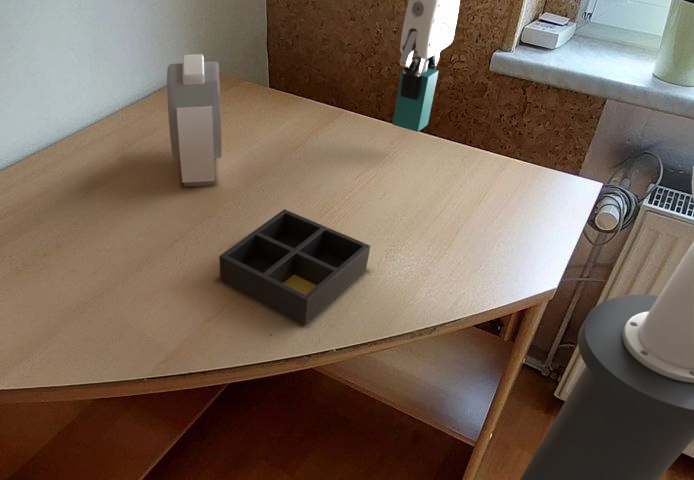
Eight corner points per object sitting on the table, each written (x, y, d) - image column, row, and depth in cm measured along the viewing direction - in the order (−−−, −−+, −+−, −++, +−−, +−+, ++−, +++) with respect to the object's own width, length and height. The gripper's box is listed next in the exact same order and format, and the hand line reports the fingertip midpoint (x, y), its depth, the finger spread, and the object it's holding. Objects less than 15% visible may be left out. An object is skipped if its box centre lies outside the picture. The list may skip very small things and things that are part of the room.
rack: (366, 270, 92) (370, 245, 88) (304, 325, 84) (307, 300, 81) (282, 233, 100) (284, 208, 96) (220, 280, 92) (219, 255, 89)
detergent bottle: (427, 124, 111) (441, 59, 103) (417, 132, 109) (430, 66, 101) (402, 117, 113) (413, 53, 105) (392, 125, 111) (402, 60, 104)
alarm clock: (223, 195, 108) (219, 79, 94) (174, 198, 109) (164, 82, 94) (220, 146, 121) (217, 37, 107) (177, 148, 121) (168, 40, 107)
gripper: (434, -10, 88) (411, 115, 101) (486, -38, 96) (458, 82, 109) (387, -17, 92) (370, 104, 105) (441, -43, 100) (419, 73, 113)
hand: (416, 92), depth 107 cm, fingers closed on detergent bottle, 3 cm apart
